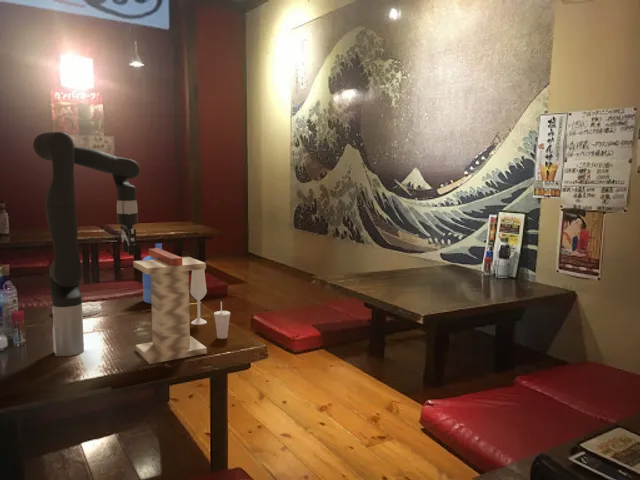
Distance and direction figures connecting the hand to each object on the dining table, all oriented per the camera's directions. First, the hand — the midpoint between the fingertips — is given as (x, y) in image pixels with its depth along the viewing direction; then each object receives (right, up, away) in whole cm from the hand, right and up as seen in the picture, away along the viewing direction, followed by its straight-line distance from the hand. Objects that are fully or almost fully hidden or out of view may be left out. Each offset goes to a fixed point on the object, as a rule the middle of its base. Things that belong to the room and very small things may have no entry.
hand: (128, 253), depth 207 cm
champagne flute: (+24, -30, +17) cm, 41 cm away
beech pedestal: (+22, -34, -20) cm, 45 cm away
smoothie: (+37, -32, -3) cm, 49 cm away
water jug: (-4, -25, +53) cm, 59 cm away
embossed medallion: (-34, -28, +30) cm, 53 cm away
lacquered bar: (+20, -2, -20) cm, 28 cm away
